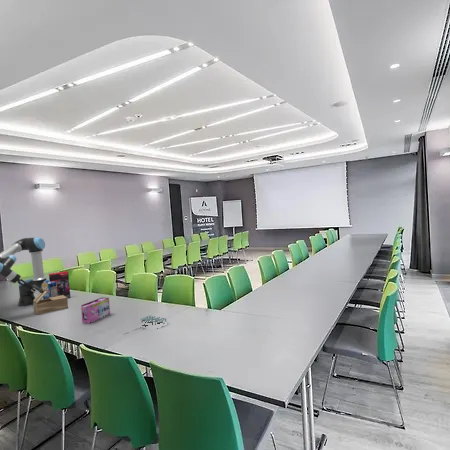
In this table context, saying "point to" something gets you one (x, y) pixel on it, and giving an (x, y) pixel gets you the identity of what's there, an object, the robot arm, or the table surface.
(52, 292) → the beverage box
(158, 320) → the grey bumpy mound
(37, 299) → the flap
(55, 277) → the graphics card box
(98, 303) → the gum box
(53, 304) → the carton
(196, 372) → the table surface
